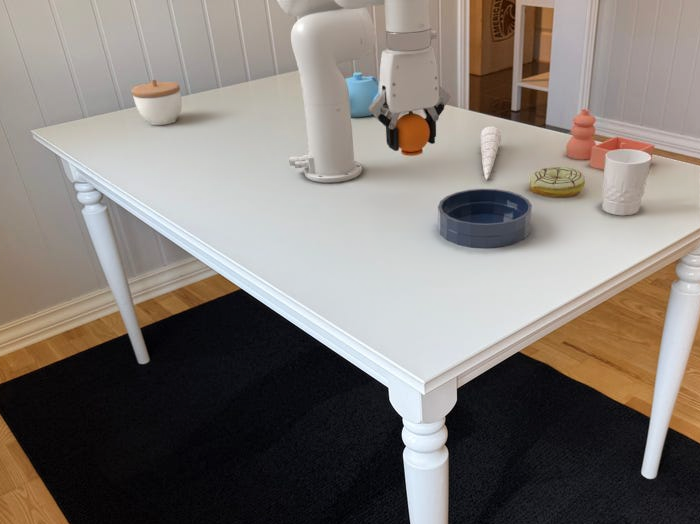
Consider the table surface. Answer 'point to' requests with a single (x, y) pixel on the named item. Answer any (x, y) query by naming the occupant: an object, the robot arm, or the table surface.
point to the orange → (412, 133)
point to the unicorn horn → (489, 148)
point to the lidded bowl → (158, 101)
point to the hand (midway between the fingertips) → (411, 144)
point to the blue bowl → (484, 218)
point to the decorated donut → (557, 182)
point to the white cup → (624, 180)
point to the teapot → (362, 94)
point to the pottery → (587, 148)
